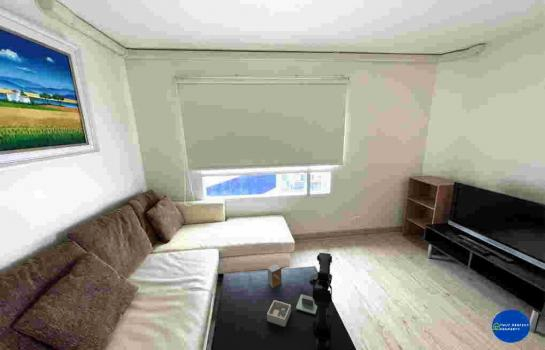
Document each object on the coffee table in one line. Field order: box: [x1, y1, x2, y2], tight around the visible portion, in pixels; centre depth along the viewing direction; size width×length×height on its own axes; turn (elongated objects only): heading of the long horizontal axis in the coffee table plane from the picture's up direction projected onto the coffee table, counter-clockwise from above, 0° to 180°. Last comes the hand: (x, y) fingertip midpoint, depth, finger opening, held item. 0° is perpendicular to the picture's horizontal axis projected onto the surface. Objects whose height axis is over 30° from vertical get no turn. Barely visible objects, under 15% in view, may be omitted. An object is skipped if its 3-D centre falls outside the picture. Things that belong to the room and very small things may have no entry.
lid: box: [295, 293, 318, 315], centre depth 134 cm, size 12×12×6 cm
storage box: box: [266, 299, 292, 328], centre depth 127 cm, size 11×11×5 cm
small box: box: [267, 263, 282, 289], centre depth 153 cm, size 8×6×13 cm
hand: (324, 297), depth 123 cm, fingers open, 9 cm apart
